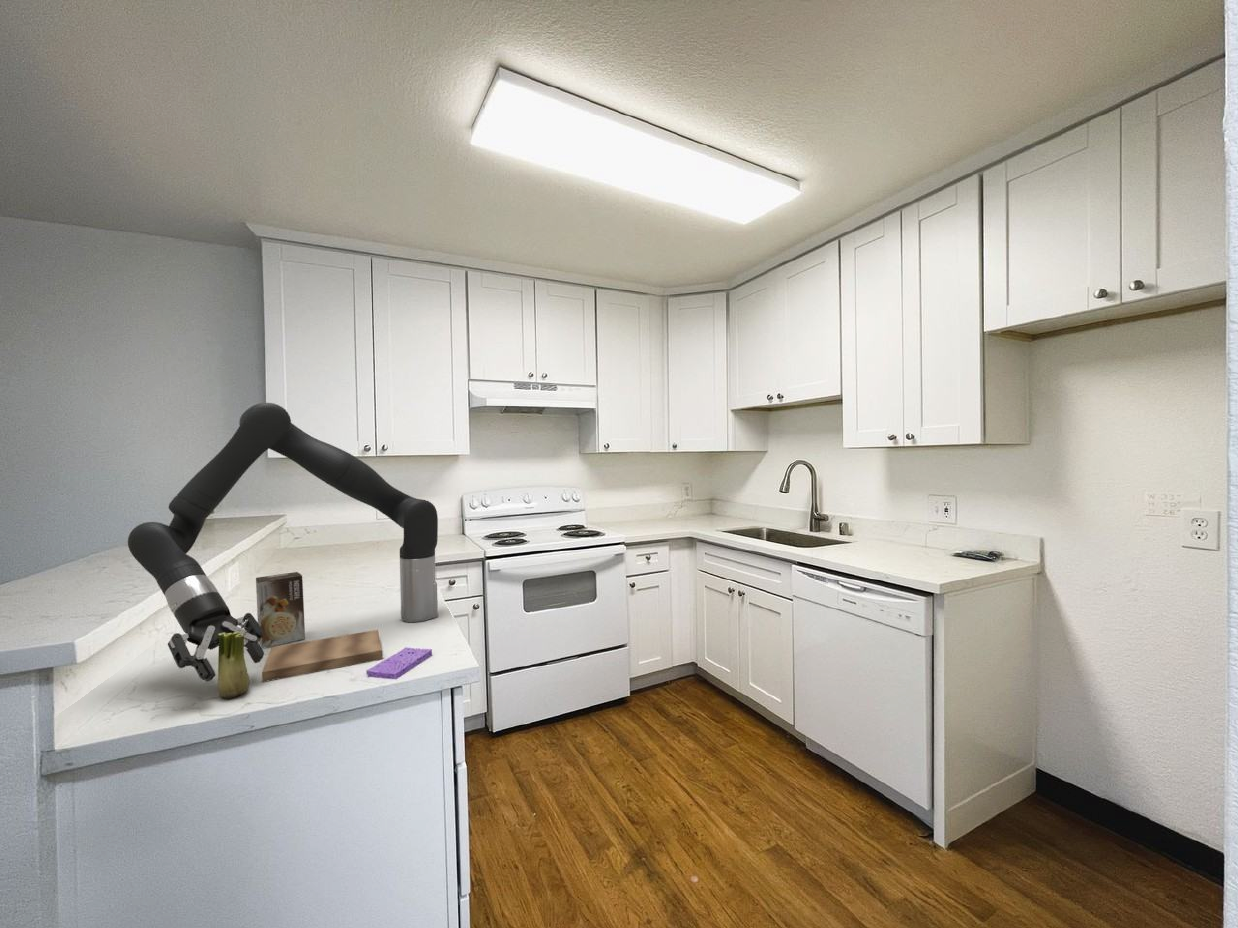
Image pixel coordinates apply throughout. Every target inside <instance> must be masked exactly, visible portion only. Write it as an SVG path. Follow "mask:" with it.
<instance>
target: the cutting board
mask: <svg viewBox="0 0 1238 928" xmlns="http://www.w3.org/2000/svg"><path fill="white" fill-rule="evenodd" d="M379 632H380V631H379V629H374V630H368V631H362V632H357V633H349V634H344V635H339V636H332V637H326V638H320V639H313V640H307V641H303V642H296V643H295V642H294V643H289V644H282V645H276V646H270V650H269V652H268V656H267V658H266V660H265V663H264V666H263V669H262V671H261V679H262V680H261V681H262V683H264V682H263V681H265V682H268V681H267V680H270V681H273V680H272V679H275V680H278V679H277V678H280V679H284V678H290V677H295V676H300V675H305V674H311V673H315V672H321V671H327V670H332V669H336V668H337V669H338V668H342V667H346V666H352V665H358V664H362V663H363V664H364V663H367V662H368V663H369V662H374V661H379V660H383V647H382V642H381V638H380V633H379Z"/></svg>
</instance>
